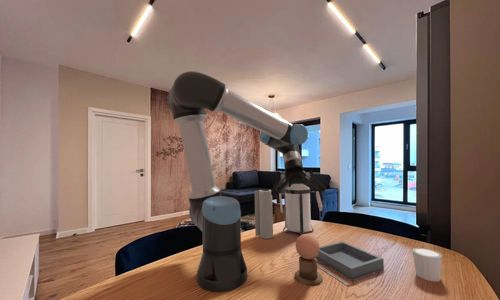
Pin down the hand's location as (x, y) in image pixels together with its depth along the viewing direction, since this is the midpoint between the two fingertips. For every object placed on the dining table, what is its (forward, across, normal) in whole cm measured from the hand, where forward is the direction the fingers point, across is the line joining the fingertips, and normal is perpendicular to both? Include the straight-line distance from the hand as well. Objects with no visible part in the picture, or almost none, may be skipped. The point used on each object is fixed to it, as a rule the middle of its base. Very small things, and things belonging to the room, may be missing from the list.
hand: (301, 210), depth 75 cm
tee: (+20, +1, -4) cm, 20 cm away
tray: (+14, -13, -12) cm, 23 cm away
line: (+16, -5, -8) cm, 19 cm away
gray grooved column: (-3, +14, -29) cm, 32 cm away
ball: (+16, +1, 0) cm, 16 cm away
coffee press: (-8, -2, -35) cm, 36 cm away
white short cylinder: (+20, -34, -8) cm, 40 cm away
